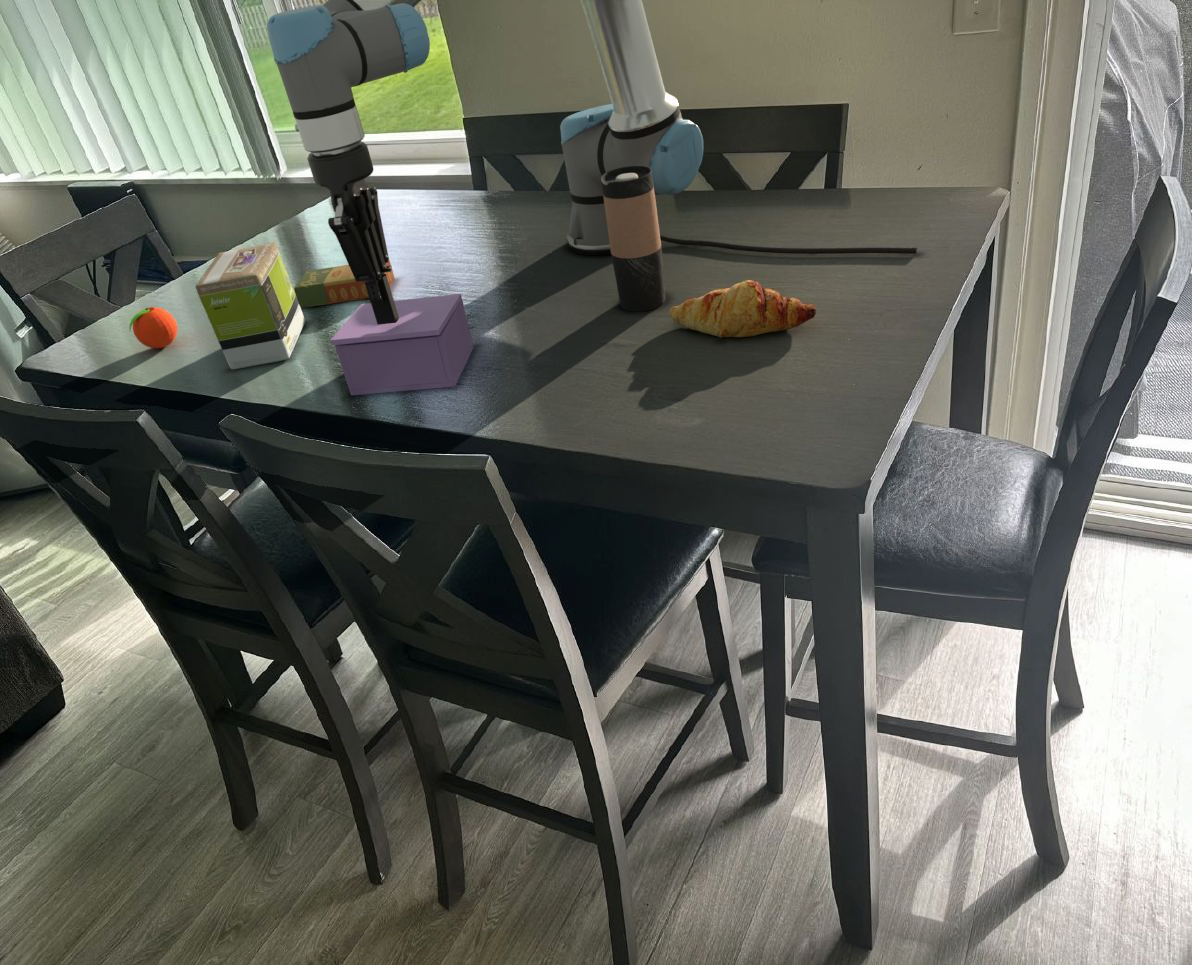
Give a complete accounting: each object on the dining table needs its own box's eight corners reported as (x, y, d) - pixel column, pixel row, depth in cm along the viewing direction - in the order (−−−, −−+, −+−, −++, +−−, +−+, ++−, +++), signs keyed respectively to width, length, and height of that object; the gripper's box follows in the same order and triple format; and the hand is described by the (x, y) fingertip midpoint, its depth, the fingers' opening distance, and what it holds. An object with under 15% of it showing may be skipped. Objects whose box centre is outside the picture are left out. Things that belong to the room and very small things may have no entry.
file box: (455, 386, 131) (441, 336, 127) (350, 395, 134) (334, 346, 129) (474, 346, 141) (462, 298, 137) (376, 355, 144) (362, 309, 140)
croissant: (668, 354, 137) (654, 321, 130) (680, 299, 141) (667, 264, 134) (814, 354, 129) (808, 319, 122) (823, 296, 133) (817, 259, 127)
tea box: (250, 332, 160) (218, 250, 152) (307, 322, 160) (278, 239, 152) (228, 371, 148) (192, 283, 139) (290, 360, 147) (258, 272, 139)
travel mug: (672, 291, 147) (658, 164, 136) (659, 312, 142) (643, 180, 131) (627, 292, 150) (609, 166, 139) (612, 312, 144) (592, 183, 133)
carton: (386, 297, 165) (379, 274, 162) (299, 309, 166) (291, 286, 164) (395, 279, 172) (389, 257, 169) (312, 290, 173) (304, 269, 171)
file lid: (439, 335, 126) (438, 329, 125) (331, 345, 128) (329, 340, 128) (462, 298, 137) (461, 293, 137) (362, 308, 140) (360, 303, 139)
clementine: (153, 360, 156) (135, 321, 152) (129, 355, 160) (111, 317, 156) (192, 339, 162) (175, 301, 158) (167, 335, 165) (151, 298, 161)
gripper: (325, 137, 121) (376, 304, 134) (288, 166, 111) (347, 345, 124) (379, 129, 120) (426, 299, 133) (347, 158, 109) (401, 339, 122)
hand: (388, 321), depth 128 cm, fingers closed
